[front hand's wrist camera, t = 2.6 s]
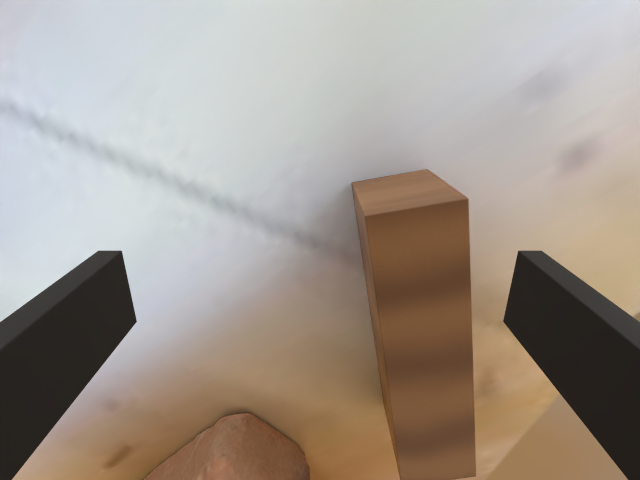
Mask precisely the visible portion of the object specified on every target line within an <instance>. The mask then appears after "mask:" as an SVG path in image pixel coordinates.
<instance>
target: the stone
mask: <svg viewBox="0 0 640 480" xmlns="http://www.w3.org/2000/svg"><path fill="white" fill-rule="evenodd" d="M143 480H310V472H309V466H308V464H307V462H306V458H305V455H304V452H303V451H302V450H301V449H300V448H299V447H298V446H297V445H296V444H295V443H294V442H292V441H291V440H289V439H288V438H286V437H285V436H283V435H282V434H281V433H280V432H278V431H277V430H275V429H274V428H272V427H271V426H269V425H268V424H266V423H265V422H263V421H261V420H260V419H258V418H257V417H256V416H254V415H252V414H250V413H241V414H235V415H230V416H226V417H222V418H220V419H219V420H218V421H217V422H216V423H215V424H214V426H213V427H211V428H208V429H206V430H205V431H203V432H202V433H200V434H199V435H197V436H196V438H195V439H194V440H193V441H191V442H189V443H188V444H186V445H185V446H184V447H183V448H181V449H180V450H179V451H178V452H177V453H176V454H174V455H173V456H171V457H169V458H168V459H166V460H165V461H164V462H163V463H161V464H160V465H159V466H158V467H157V468H155V469H154V470H153V471H152V472H151V473H150V474H149V475H147V476H146V477H145V478H144V479H143Z"/></svg>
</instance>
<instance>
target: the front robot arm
mask: <svg viewBox="0 0 640 480" xmlns="http://www.w3.org/2000/svg"><path fill="white" fill-rule="evenodd" d="M136 322H137V321H136V316H135V311H134V307H133V302H132V297H131V293H130V288H129V283H128V278H127V274H126V269H125V264H124V260H123V255H122V251H98V252H96V253H95V254H93V255H92V256H91V257H89V258H88V259H87V260H85V261H84V262H82V263H81V264H80V265H78V266H77V267H76V268H74V269H73V270H71V271H70V272H69V273H67V274H66V275H65V276H63V277H62V278H60V279H59V280H58V281H56V282H55V283H54V284H52V285H51V286H49V287H48V288H47V289H45V290H44V291H43V292H41V293H40V294H38V295H37V296H36V297H34V298H33V299H32V300H30V301H29V302H27V303H26V304H25V305H23V306H22V307H21V308H19V309H18V310H16V311H15V312H14V313H12V314H11V315H10V316H8V317H7V318H5V319H4V320H3V321H1V322H0V480H12V479H13V477H14V476H15V475H16V474H17V472H18V471H19V470H20V468H21V467H22V466H23V465H24V463H25V462H26V461H27V460H28V458H29V457H30V456H31V455H32V453H33V452H34V451H35V449H36V448H37V447H38V446H39V444H40V443H41V442H42V441H43V439H44V438H45V437H46V436H47V434H48V433H49V432H50V431H51V429H52V428H53V427H54V425H55V424H56V423H57V422H58V420H59V419H60V418H61V417H62V415H63V414H64V413H65V412H66V410H67V409H68V408H69V406H70V405H71V404H72V403H73V401H74V400H75V399H76V398H77V396H78V395H79V394H80V393H81V391H82V390H83V389H84V388H85V386H86V385H87V384H88V382H89V381H90V380H91V379H92V377H93V376H94V375H95V374H96V372H97V371H98V370H99V369H100V367H101V366H102V365H103V363H104V362H105V361H106V360H107V358H108V357H109V356H110V355H111V353H112V352H113V351H114V350H115V348H116V347H117V346H118V345H119V343H120V342H121V341H122V339H123V338H124V337H125V336H126V334H127V333H128V332H129V331H130V329H131V328H132V327H133V326H134V324H135V323H136ZM503 322H504V323H505V324H506V326H507V327H508V328H509V329H510V331H511V332H512V333H513V334H514V336H515V337H516V338H517V339H518V341H519V342H520V343H521V345H522V346H523V347H524V348H525V350H526V351H527V352H528V353H529V355H530V356H531V357H532V358H533V360H534V361H535V362H536V363H537V365H538V366H539V367H540V369H541V370H542V371H543V372H544V374H545V375H546V376H547V377H548V379H549V380H550V381H551V382H552V384H553V385H554V386H555V388H556V389H557V390H558V391H559V393H560V394H561V395H562V396H563V398H564V399H565V400H566V401H567V403H568V404H569V405H570V406H571V408H572V409H573V410H574V412H575V413H576V414H577V415H578V417H579V418H580V419H581V420H582V422H583V423H584V424H585V425H586V427H587V428H588V429H589V431H590V432H591V433H592V434H593V436H594V437H595V438H596V439H597V441H598V442H599V443H600V444H601V446H602V447H603V448H604V449H605V451H606V452H607V453H608V455H609V456H610V457H611V458H612V460H613V461H614V462H615V463H616V465H617V466H618V467H619V468H620V470H621V471H622V472H623V474H624V475H625V476H626V477H627V479H628V480H640V322H639V321H637V320H636V319H635V318H633V317H632V316H630V315H629V314H628V313H626V312H625V311H624V310H622V309H621V308H619V307H618V306H617V305H615V304H614V303H613V302H611V301H610V300H608V299H607V298H606V297H604V296H603V295H602V294H600V293H599V292H597V291H596V290H595V289H593V288H592V287H591V286H589V285H588V284H586V283H585V282H584V281H582V280H581V279H580V278H578V277H577V276H575V275H574V274H573V273H571V272H570V271H569V270H567V269H566V268H564V267H563V266H562V265H560V264H559V263H558V262H556V261H555V260H553V259H552V258H551V257H549V256H548V255H547V254H545V253H544V252H542V251H518V255H517V260H516V264H515V269H514V274H513V278H512V283H511V288H510V293H509V297H508V302H507V307H506V311H505V316H504V321H503Z"/></svg>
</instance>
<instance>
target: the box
mask: <svg viewBox="0 0 640 480" xmlns="http://www.w3.org/2000/svg"><path fill="white" fill-rule="evenodd" d="M352 190H353V197H354V204H355V210H356V217H357V224H358V231H359V238H360V245H361V251H362V258H363V265H364V272H365V279H366V286H367V292H368V299H369V306H370V313H371V320H372V327H373V333H374V340H375V347H376V354H377V361H378V368H379V374H380V381H381V388H382V395H383V402H384V408H385V412H386V417H387V421H388V426H389V430H390V435H391V439H392V444H393V449H394V453H395V458H396V462H397V467H398V471H399V476H400V480H452V479H459V478H467V477H474V476H476V458H475V422H474V387H473V351H472V315H471V280H470V244H469V208H468V198H467V197H466V196H464V195H463V194H461V193H460V192H459V191H457V190H456V189H454V188H453V187H452V186H450V185H449V184H447V183H446V182H445V181H443V180H442V179H440V178H439V177H438V176H436V175H435V174H433V173H432V172H431V171H429V170H428V169H426V170H420V171H415V172H409V173H403V174H398V175H392V176H386V177H381V178H375V179H369V180H363V181H358V182H352Z"/></svg>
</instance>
